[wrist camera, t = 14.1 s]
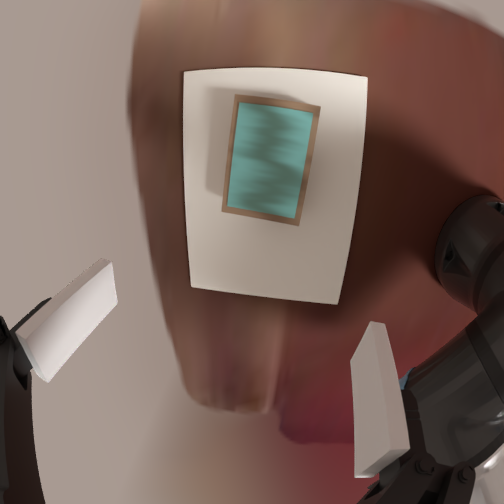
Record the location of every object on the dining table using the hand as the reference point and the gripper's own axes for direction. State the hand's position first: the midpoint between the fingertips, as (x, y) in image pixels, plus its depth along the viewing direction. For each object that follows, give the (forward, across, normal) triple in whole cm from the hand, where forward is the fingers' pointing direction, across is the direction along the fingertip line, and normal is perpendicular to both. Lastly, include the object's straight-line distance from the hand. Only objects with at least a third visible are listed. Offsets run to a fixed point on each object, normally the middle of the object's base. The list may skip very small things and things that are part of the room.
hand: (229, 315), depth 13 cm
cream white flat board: (+21, -1, +1) cm, 21 cm away
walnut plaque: (+19, -1, -1) cm, 19 cm away
